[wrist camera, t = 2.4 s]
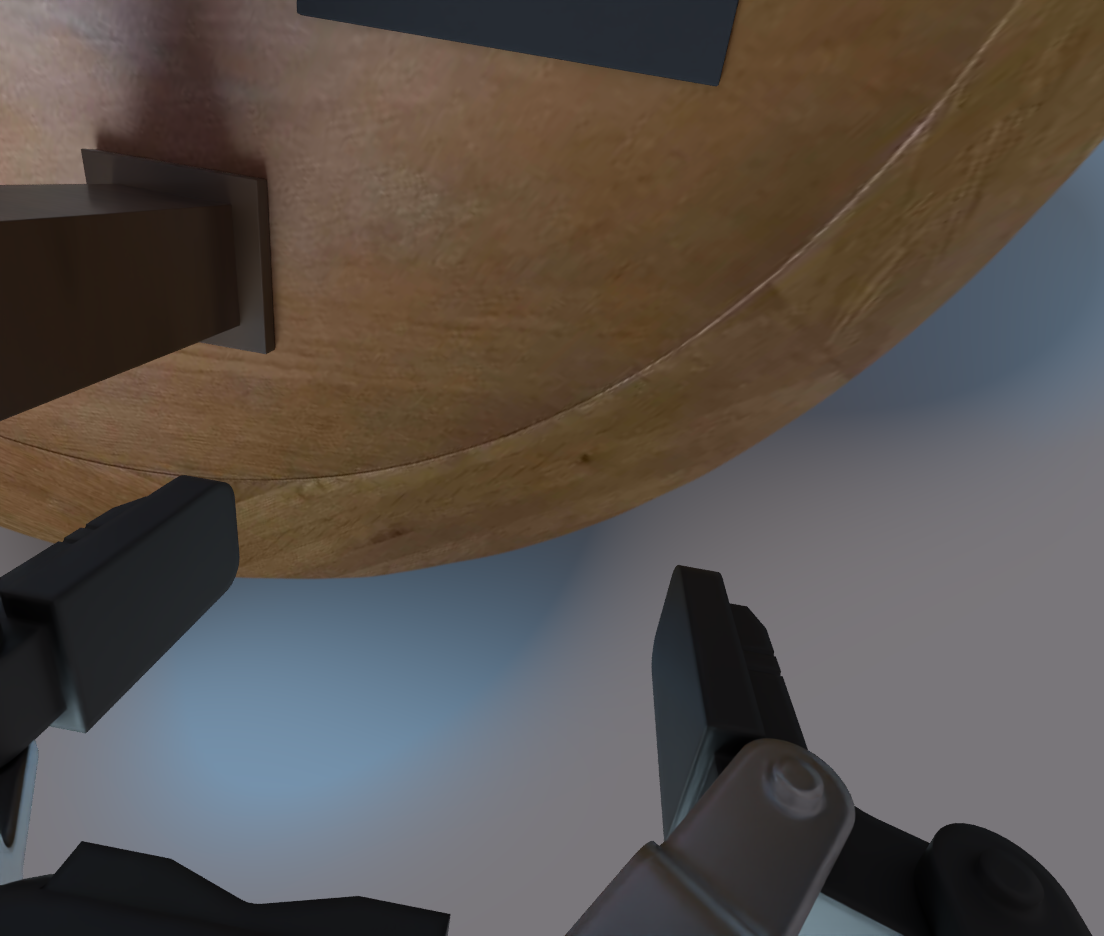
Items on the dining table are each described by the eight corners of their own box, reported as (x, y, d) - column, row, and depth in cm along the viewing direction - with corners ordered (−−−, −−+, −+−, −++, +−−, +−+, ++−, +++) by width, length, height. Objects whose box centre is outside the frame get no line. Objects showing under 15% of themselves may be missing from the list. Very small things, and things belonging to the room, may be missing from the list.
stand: (123, 322, 51) (-515, 511, 22) (96, 149, 45) (-814, 99, 16) (275, 349, 51) (-168, 576, 22) (267, 179, 45) (-348, 182, 16)
